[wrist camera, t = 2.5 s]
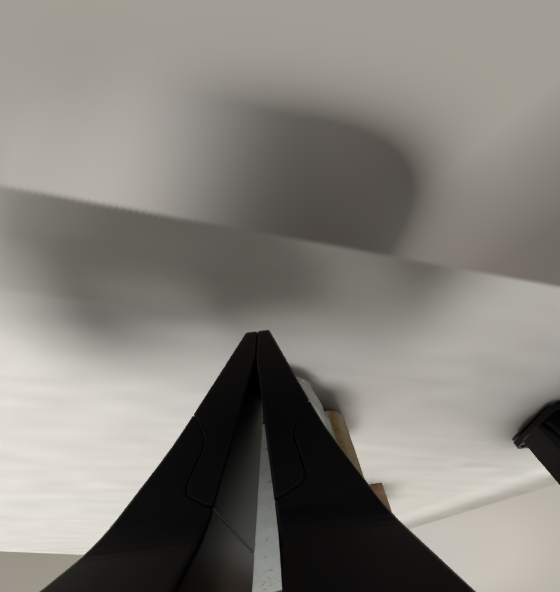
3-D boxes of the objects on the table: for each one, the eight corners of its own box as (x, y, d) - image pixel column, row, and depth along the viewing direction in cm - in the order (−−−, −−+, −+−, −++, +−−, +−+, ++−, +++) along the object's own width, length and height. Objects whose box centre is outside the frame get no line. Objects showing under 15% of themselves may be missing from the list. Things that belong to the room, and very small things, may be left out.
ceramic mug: (353, 435, 19) (400, 586, 12) (258, 457, 20) (256, 607, 14) (322, 347, 13) (379, 543, 7) (191, 385, 14) (134, 585, 8)
